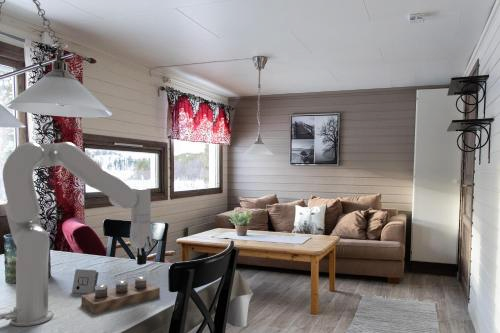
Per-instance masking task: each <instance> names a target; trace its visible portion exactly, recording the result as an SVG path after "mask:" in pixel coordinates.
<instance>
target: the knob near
mask: <svg viewBox="0 0 500 333" xmlns="http://www.w3.org/2000/svg"><path fill="white" fill-rule="evenodd" d="M107 290H109V288H108V284H106V283H101V284H97V285H96V286H95V291H94V293H95V298H97V299H101V298H106V297H107Z"/></svg>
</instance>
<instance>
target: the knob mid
mask: <svg viewBox="0 0 500 333" xmlns="http://www.w3.org/2000/svg"><path fill="white" fill-rule="evenodd" d="M128 285H129V281H128V279H118V280H116V281H115V288H116V293H118V294H122V293H126V292H128Z"/></svg>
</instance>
